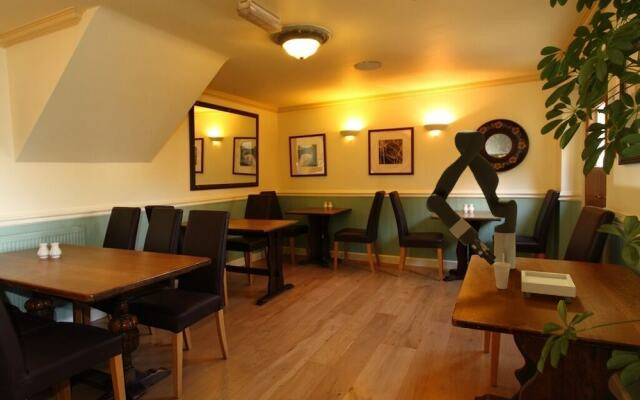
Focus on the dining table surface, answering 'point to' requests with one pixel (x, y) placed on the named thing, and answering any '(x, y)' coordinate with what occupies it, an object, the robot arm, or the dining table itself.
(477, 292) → the dining table surface
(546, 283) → the cart
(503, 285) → the smoothie
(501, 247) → the robot arm
